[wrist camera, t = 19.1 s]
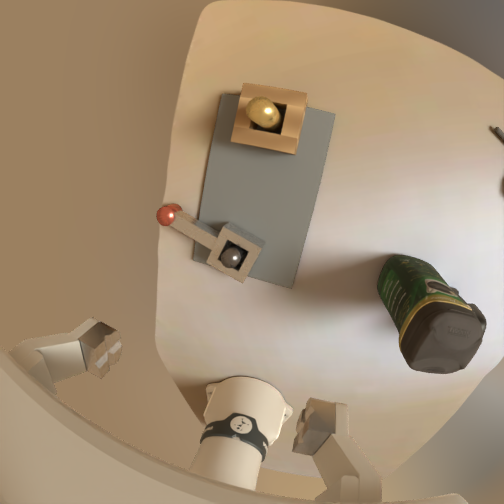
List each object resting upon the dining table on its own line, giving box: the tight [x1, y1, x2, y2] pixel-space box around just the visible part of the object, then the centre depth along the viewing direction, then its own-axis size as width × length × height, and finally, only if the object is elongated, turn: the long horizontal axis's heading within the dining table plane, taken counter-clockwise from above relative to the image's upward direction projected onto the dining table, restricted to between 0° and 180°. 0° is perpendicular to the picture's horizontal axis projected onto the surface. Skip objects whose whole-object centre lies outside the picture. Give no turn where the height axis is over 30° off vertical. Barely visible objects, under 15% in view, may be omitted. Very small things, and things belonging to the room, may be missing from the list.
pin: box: [246, 96, 284, 132], centre depth 30 cm, size 3×3×9 cm
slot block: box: [231, 83, 308, 155], centre depth 32 cm, size 8×8×4 cm
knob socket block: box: [157, 204, 266, 283], centre depth 40 cm, size 16×6×3 cm, turn 63°
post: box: [221, 243, 247, 268], centre depth 39 cm, size 2×2×5 cm
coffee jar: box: [377, 255, 483, 374], centre depth 29 cm, size 10×8×19 cm
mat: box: [193, 94, 335, 289], centre depth 38 cm, size 26×16×1 cm, turn 168°
